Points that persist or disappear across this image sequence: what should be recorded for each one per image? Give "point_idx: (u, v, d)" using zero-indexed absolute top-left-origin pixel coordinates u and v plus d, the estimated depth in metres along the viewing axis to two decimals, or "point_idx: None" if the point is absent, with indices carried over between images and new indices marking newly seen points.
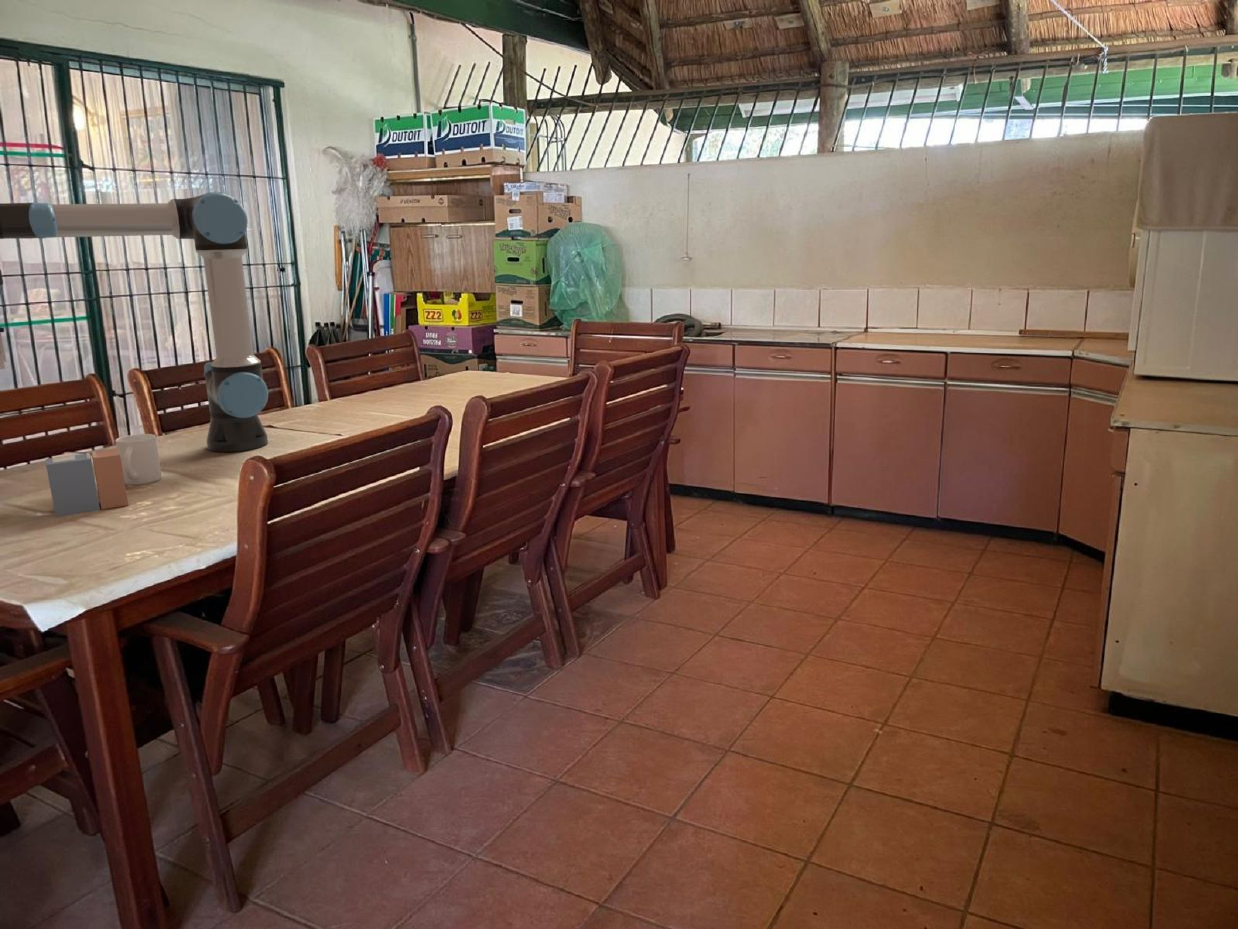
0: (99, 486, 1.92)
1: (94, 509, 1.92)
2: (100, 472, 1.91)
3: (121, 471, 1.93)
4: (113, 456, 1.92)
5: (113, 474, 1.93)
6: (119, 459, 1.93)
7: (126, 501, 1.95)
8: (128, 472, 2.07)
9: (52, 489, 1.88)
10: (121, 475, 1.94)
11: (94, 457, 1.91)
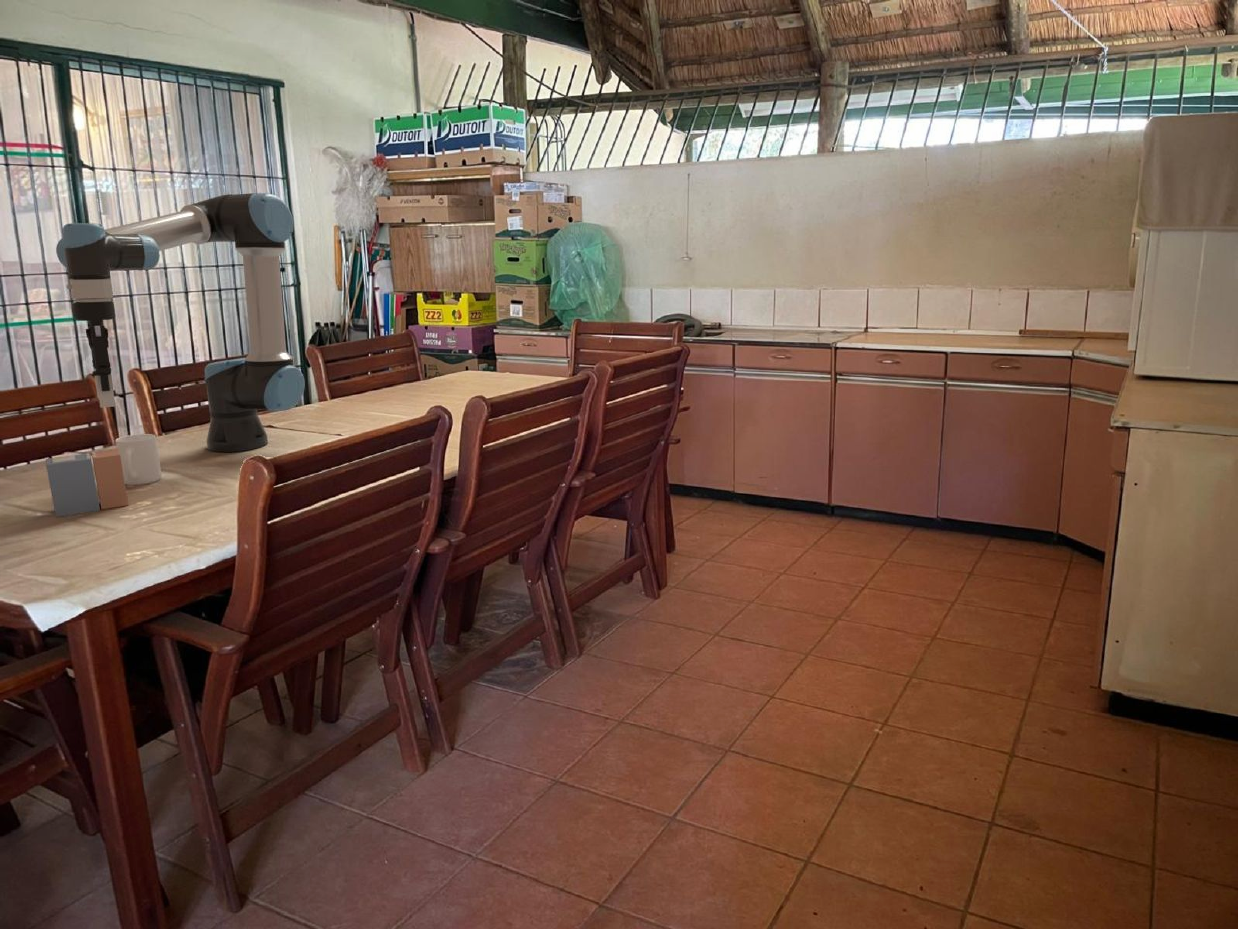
0: (99, 486, 1.92)
1: (94, 509, 1.92)
2: (100, 472, 1.91)
3: (121, 471, 1.93)
4: (113, 456, 1.92)
5: (113, 474, 1.93)
6: (119, 459, 1.93)
7: (126, 501, 1.95)
8: (128, 472, 2.07)
9: (52, 489, 1.88)
10: (121, 475, 1.94)
11: (94, 457, 1.91)
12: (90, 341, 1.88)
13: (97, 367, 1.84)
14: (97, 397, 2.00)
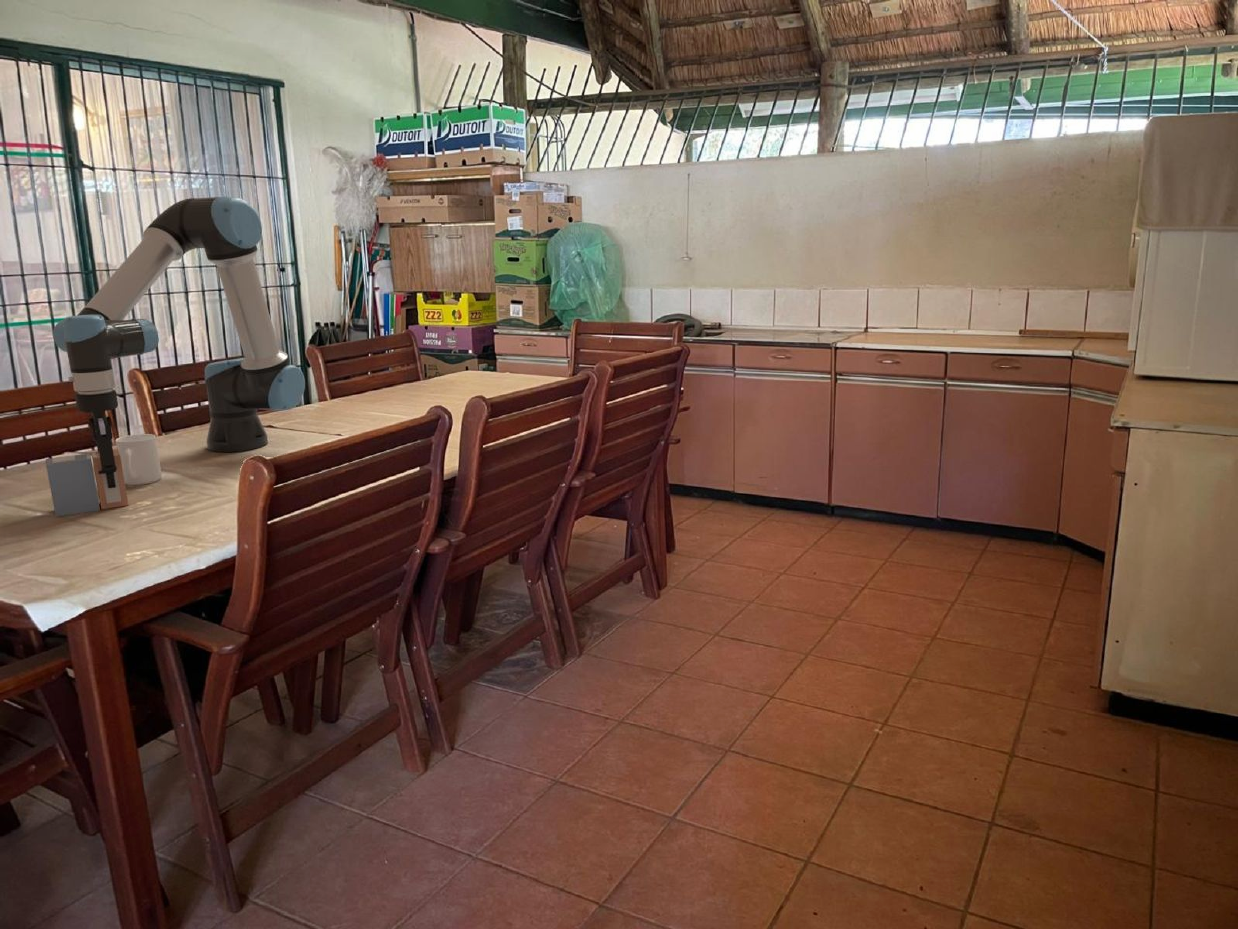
0: (99, 486, 1.92)
1: (94, 509, 1.92)
2: None
3: (121, 471, 1.93)
4: None
5: None
6: (119, 459, 1.93)
7: (126, 501, 1.95)
8: (128, 472, 2.07)
9: (52, 489, 1.88)
10: (121, 475, 1.94)
11: (94, 457, 1.91)
12: (94, 435, 1.90)
13: (103, 468, 1.88)
14: None
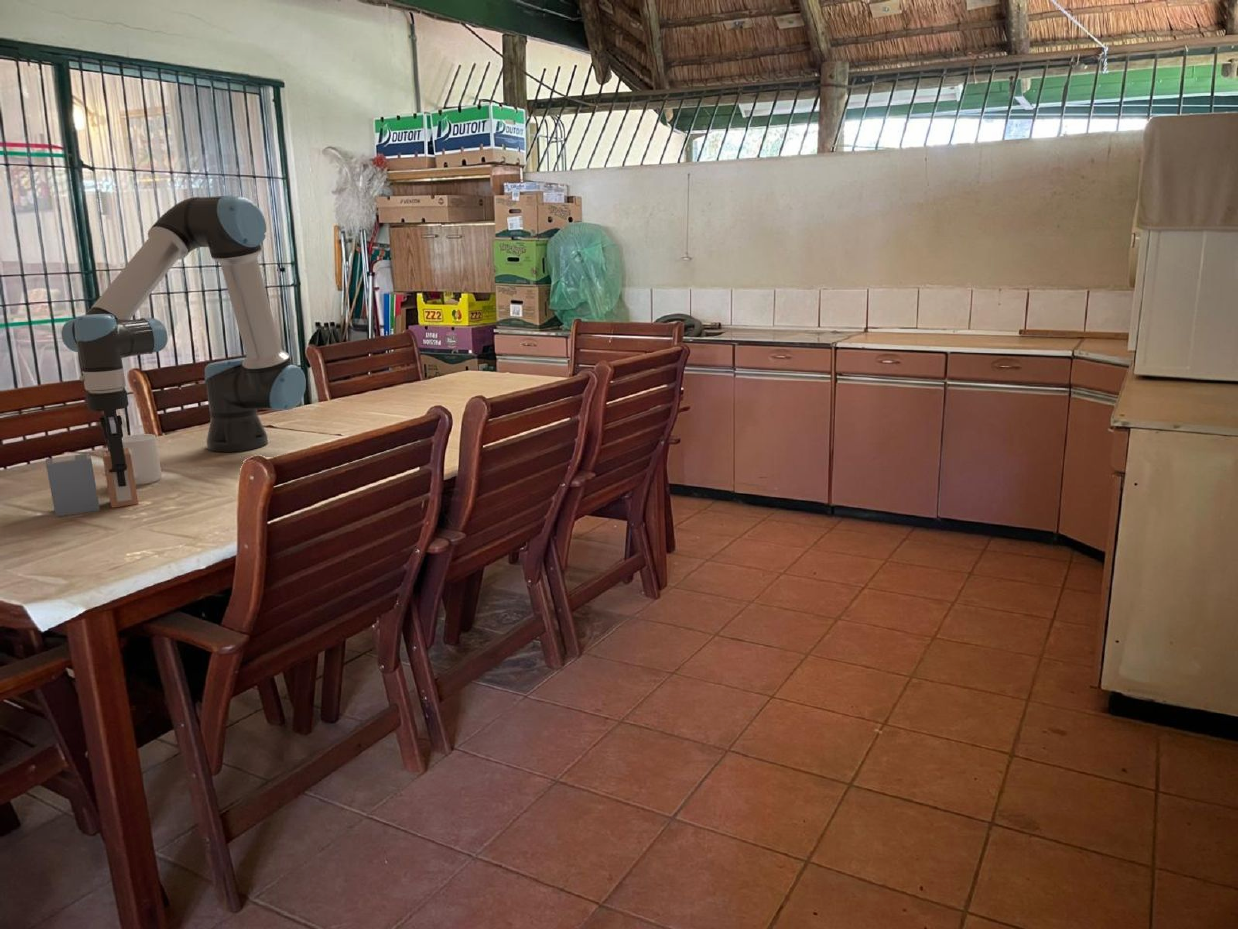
0: (109, 485, 1.93)
1: (94, 509, 1.92)
2: None
3: (131, 470, 1.94)
4: None
5: None
6: (129, 458, 1.94)
7: (136, 499, 1.96)
8: None
9: (52, 489, 1.88)
10: (131, 474, 1.95)
11: (105, 456, 1.92)
12: (105, 434, 1.91)
13: (114, 466, 1.89)
14: None
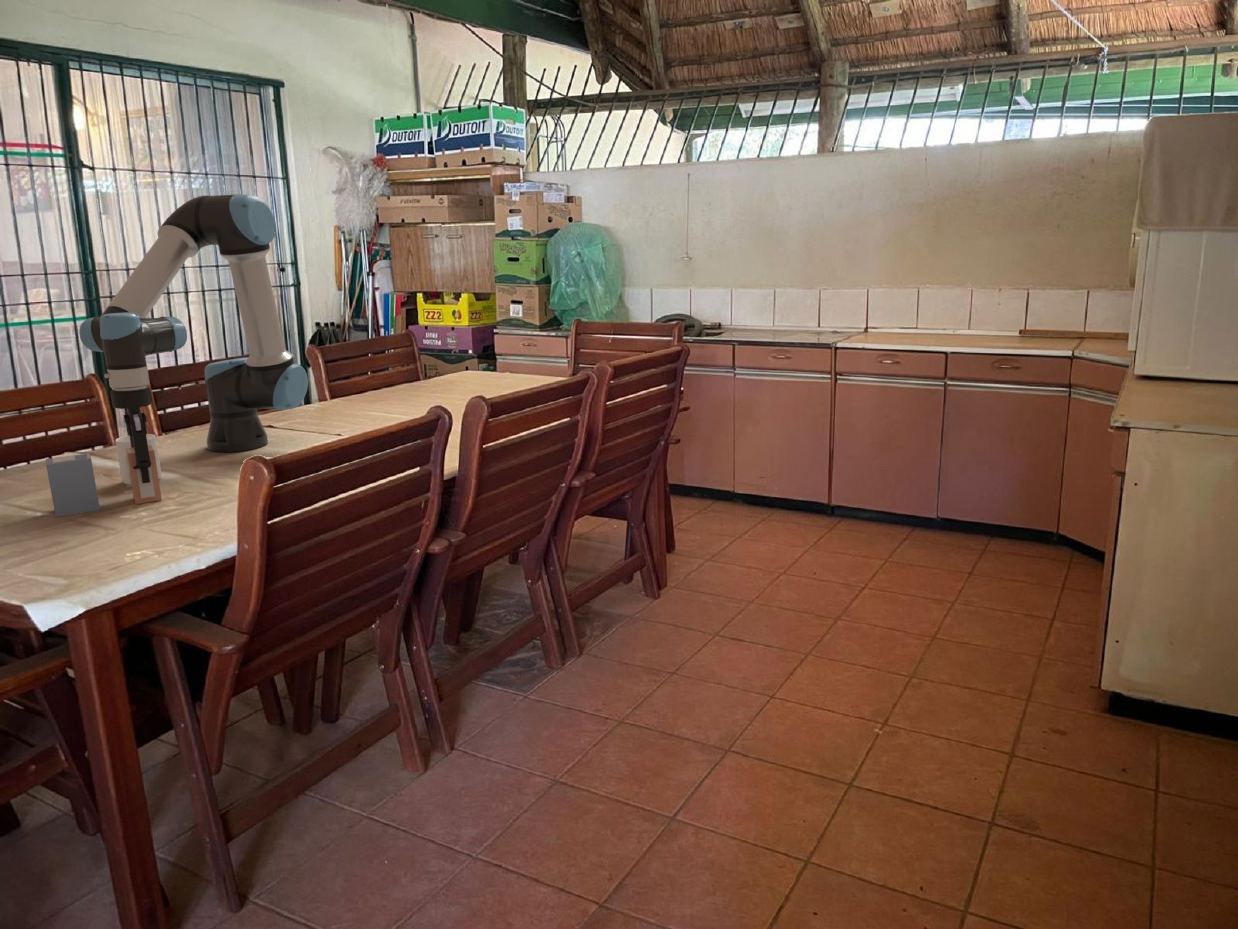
0: (134, 481, 1.95)
1: (94, 509, 1.92)
2: None
3: (155, 466, 1.97)
4: None
5: None
6: (153, 455, 1.96)
7: (160, 496, 1.98)
8: (128, 472, 2.07)
9: (52, 489, 1.88)
10: (155, 470, 1.97)
11: (129, 452, 1.94)
12: (129, 431, 1.93)
13: (138, 463, 1.92)
14: None
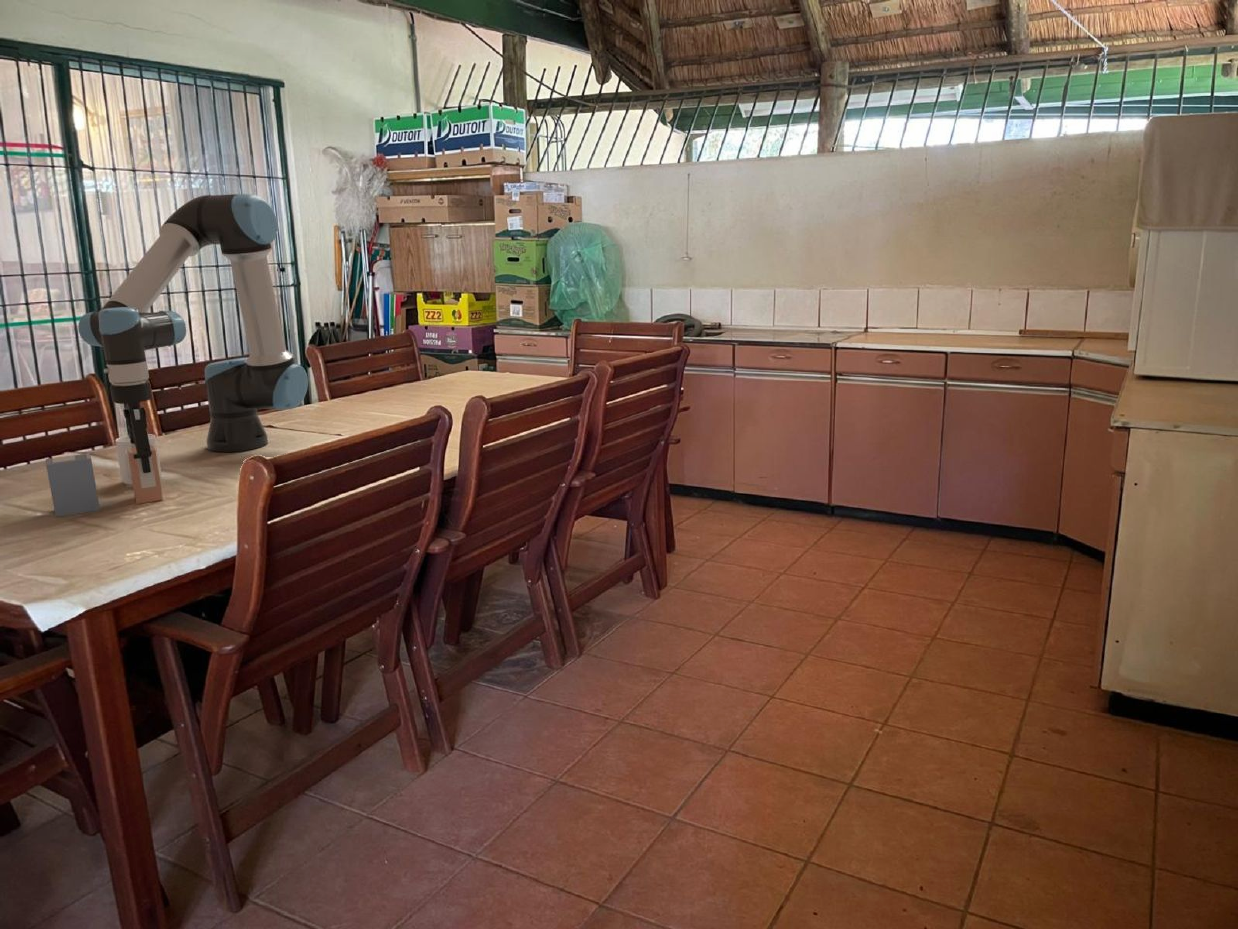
0: (135, 481, 1.95)
1: (94, 509, 1.92)
2: (136, 467, 1.95)
3: (156, 466, 1.97)
4: None
5: None
6: (154, 454, 1.96)
7: (161, 496, 1.98)
8: (128, 472, 2.07)
9: (52, 489, 1.88)
10: (156, 470, 1.97)
11: (130, 452, 1.94)
12: (129, 423, 1.92)
13: (138, 451, 1.88)
14: None
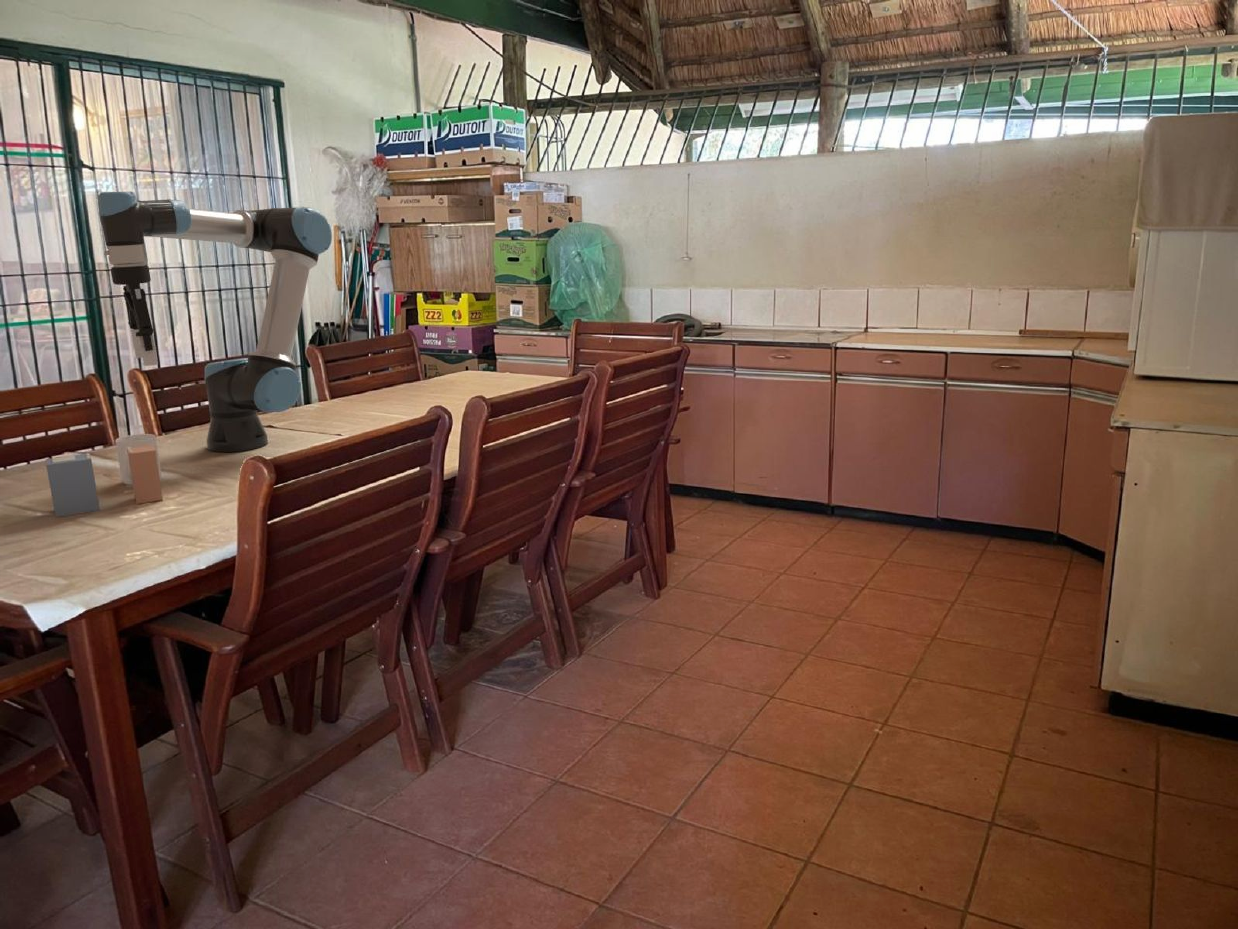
0: (135, 481, 1.95)
1: (94, 509, 1.92)
2: (136, 467, 1.95)
3: (156, 466, 1.97)
4: (149, 451, 1.96)
5: (148, 469, 1.96)
6: (154, 454, 1.96)
7: (161, 496, 1.98)
8: (128, 472, 2.07)
9: (52, 489, 1.88)
10: (156, 470, 1.97)
11: (130, 452, 1.94)
12: (130, 304, 2.00)
13: (141, 328, 1.97)
14: (136, 356, 2.13)
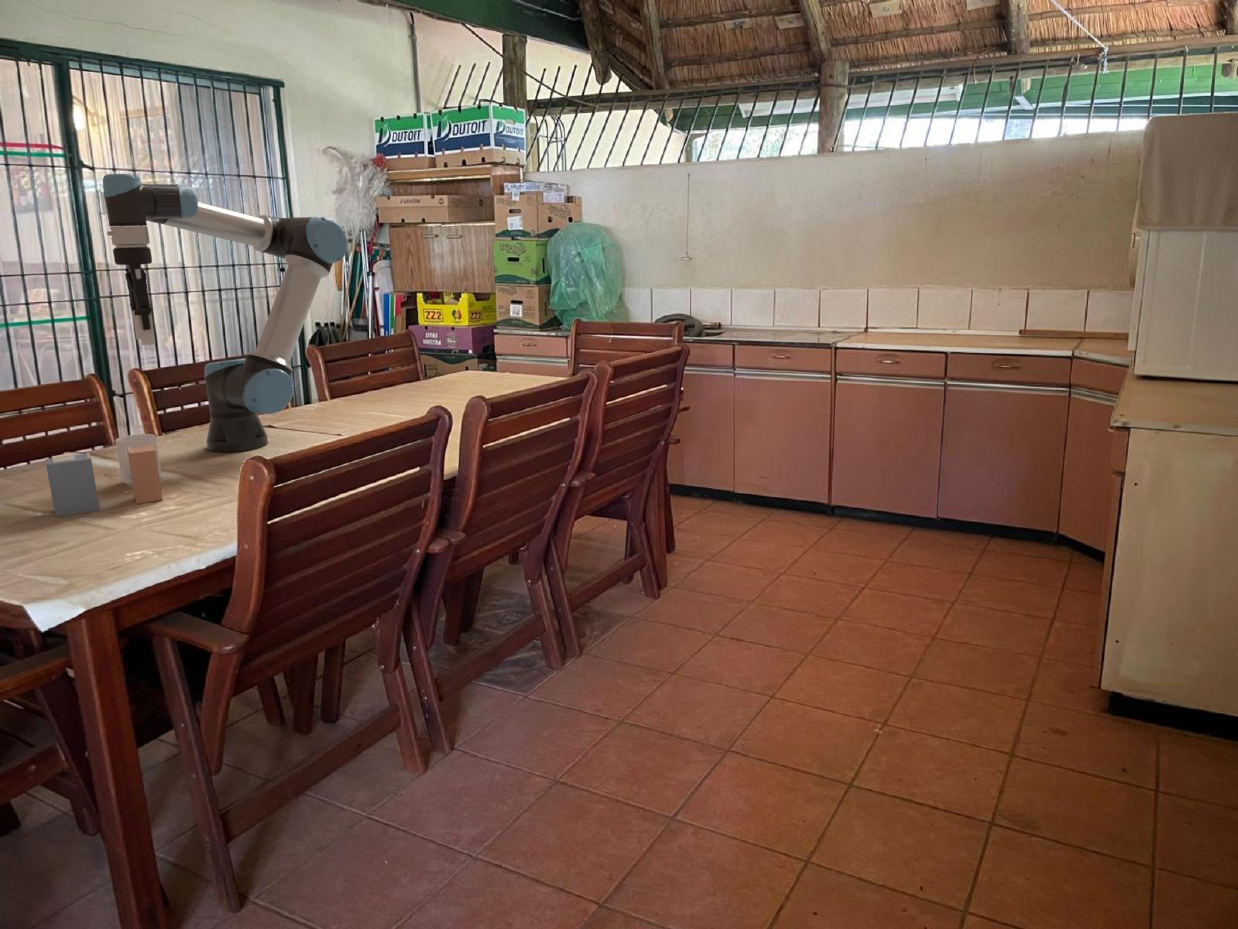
0: (135, 481, 1.95)
1: (94, 509, 1.92)
2: (136, 467, 1.95)
3: (156, 466, 1.97)
4: (149, 451, 1.96)
5: (148, 469, 1.96)
6: (154, 454, 1.96)
7: (161, 496, 1.98)
8: (128, 472, 2.07)
9: (52, 489, 1.88)
10: (156, 470, 1.97)
11: (130, 452, 1.94)
12: (130, 284, 2.04)
13: (139, 307, 2.01)
14: (136, 338, 2.16)
